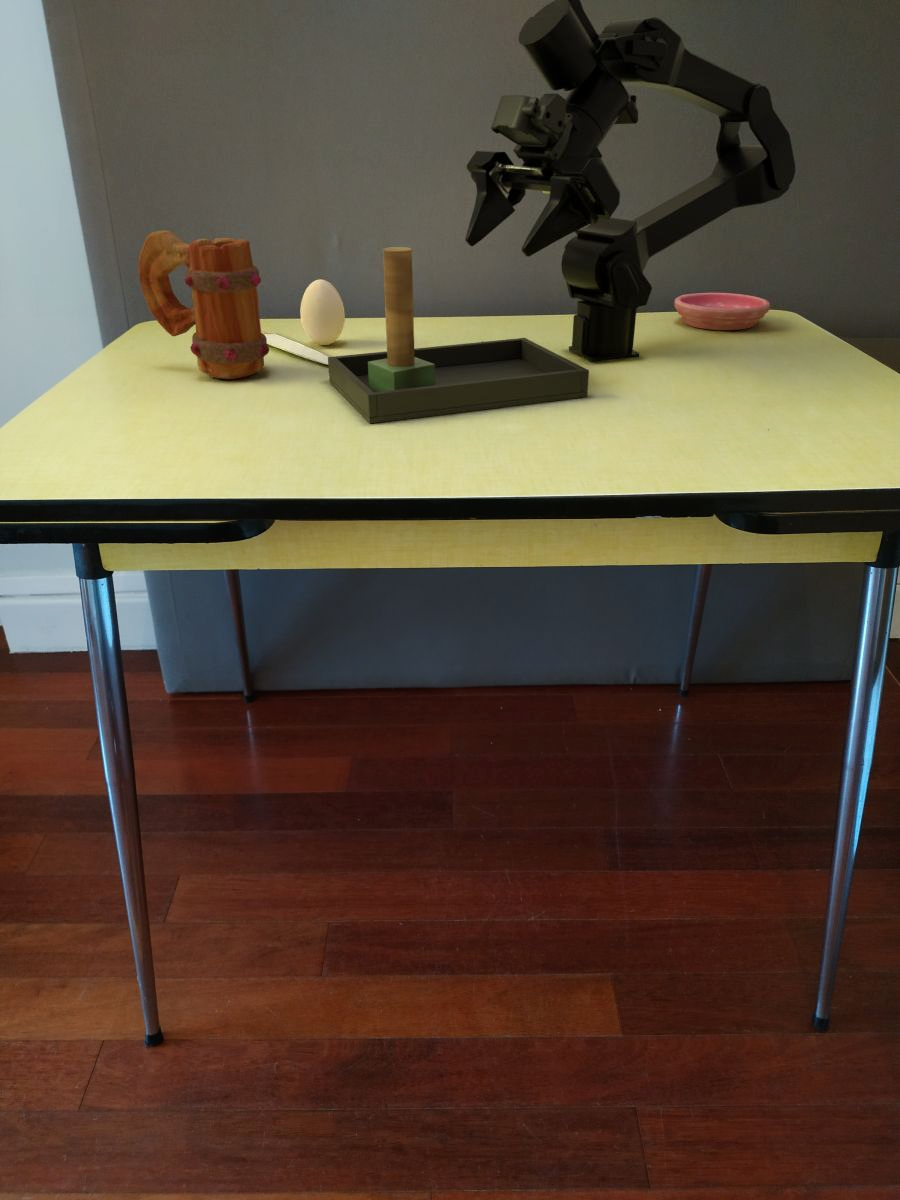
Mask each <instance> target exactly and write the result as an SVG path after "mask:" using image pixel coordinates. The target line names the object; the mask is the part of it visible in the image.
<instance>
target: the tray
mask: <svg viewBox="0 0 900 1200" xmlns="http://www.w3.org/2000/svg"><path fill="white" fill-rule="evenodd" d="M414 354H415V357H416V358H419V359H422V360H424V361H427V362H430V363H433V364H435V385H434V386H425V387H416V388H408V389H399V390H390V391H381V392H373V391H372V390H371V389H369V375H368V362H370V361H375V360H381V359H386V358H387V350H386V351H377V352H375V351H374V352H366V353H357V354H346V355H335V356H328V365H327V366H328V381H329V383H330V384H331V386H332V387H334V389H335V390H336V391H338V392H339V394H340V395H341V396H342V397H343V398H344V399H345V400H346V401H347V402H348V403H349V404H350V405H351V406H352V407H353V409H355V410H356V411H357V413H358V414H360V415H361V416H362V418H364V419H365V420H366V422H367V423H368V424H378V423H379V424H380V423H385V422H386V423H387V422H395V421H402V420H410V419H420V418H426V417H427V418H428V417H434V416H444V415H449V414H458V413H467V412H475V411H482V410H491V409H499V408H507V407H516V406H522V405H523V406H524V405H532V404H538V403H539V404H540V403H547V402H556V401H564V400H571V399H579V398H581V399H582V398H587V397H588V391H589V380H590V379H589V377H590V369H587V368H585V367H583V366H581V365H580V364H578V363H576V362H574V361H571V360H569V359H568V358H565V357H563V356H562V355H560V354H558V353H556V352H554V351H552V350H550V349H548V348H546V347H544V346H542V345H540V344H538V343H536V342H534V341H532V340H530V339H528V338H526V337H519V338H509V339H508V338H507V339H499V340H489V341H478V342H466V343H457V344H456V343H455V344H447V345H438V346H428V347H427V346H426V347H418V348H417V347H416V348H414Z"/></svg>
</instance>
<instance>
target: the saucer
mask: <svg viewBox="0 0 900 1200" xmlns="http://www.w3.org/2000/svg"><path fill="white" fill-rule="evenodd" d="M770 307H771V303H770V301H768V299H765V298H762V297H758V296H754V295H748V294H741V293H733V292H732V293H731V292H729V293H728V292H698V293H697V292H696V293H688V294H682V295H679V296H678V297H676V298H675V299H674V309H676V312H677V314H678V315H679V316H680V317H681V319H682V320H683V322H684V324H686V325H688V326H690V327H692V328H693V327H694V328H698V329H703V330H704V329H705V330H714V331H739V330H747V329H751V328H753V327H754V326H756V324H757V323H758V321H759V320H762V319H763V318H764V317H765V315H766V314H768V312H769V311H770Z"/></svg>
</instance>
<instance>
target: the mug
mask: <svg viewBox="0 0 900 1200" xmlns="http://www.w3.org/2000/svg"><path fill="white" fill-rule="evenodd" d="M250 246H251V245H250V241H249V240H247V239H246V238H241V239H235V238H231V237H216V238H215V239H214V240H210V239H209V238H200V239H195V240H193V241H191V243H189V244H188V243H185V242H184V241H183V240H181V239H180V238H179V237H178V236H177V235H175V233H174V232H173V231H170V230H168V229H164V230H157V231H153V232H151V233H149V234H148V235H147V236H146V239H145V241H144V242H143V244H142V247H141V249H140V253H139V258H138V263H137V266H138V279H139V284H140V287H141V291H142V295H143V297H144V299H145V303H146V305H147V307H148V309H149V311H150V313H151V314H152V315H153V317H154V319H155V320H156V321H157V322H158V324H159V325H160V326H161V327H162V328H163V329H164V330H165V331H166V333H168V334H169V335H170V336H171V337H177V336H180V335H183V334H186V333H187V332H189V331H190V330H191V329H192V328H193V327H194V326H195V332H194V333H193V334H192V337H191V341H192V343H191V345H190V347H189V348H190V351H191V353H192V354H193V355H195V357H196V358H197V359H196V360H197V367H198V369H199V370H200V371H201V372H202V373H203V374H205V375H208V376H209V377H212V378H213V379H220V380H221V379H224V380H236V379H242V378H247V377H249V376H252V375H254V374H256V373H258V372H259V371H261V370H262V369H263V368H264V366H265V356H267V355H268V354H269V352H270V346H268V344H267V338H266V336H265V335H264V334H262V333H261V331H262V327H261V319H260V308H259V307H260V306H259V304H260V303H259V293H258V290H257V289H258V288H257V287H258V286H259V285H260V284H261V282H262V279H261V277H260V270H259V269H258V267H257V266H256V265H254V263H253V257H252V252H251V247H250ZM181 265H182V266H186V267H187V268H186V270H185V278H184V282H185V285H187V286H188V288H190V289H191V295H192V303H193V307H187V306H185V305H183V304H182V303H181V302H180V301H179V299H178V298H177V296H176V295H175V294H174V293H175V292H174V290H173V288H172V284H171V281H170V276H169V275H170V274H171V273H172V272H173V271H175V270H176V269H177V268H179V267H180V266H181Z"/></svg>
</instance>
